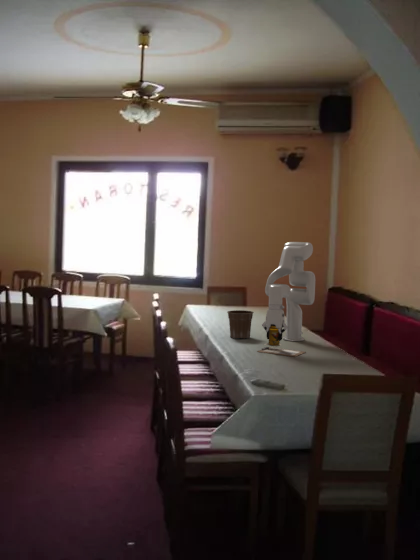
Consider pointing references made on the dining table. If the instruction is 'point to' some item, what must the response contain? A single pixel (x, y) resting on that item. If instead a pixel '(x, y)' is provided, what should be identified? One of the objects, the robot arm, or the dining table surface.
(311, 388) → the dining table surface
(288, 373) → the dining table surface
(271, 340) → the condiment
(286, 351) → the clipboard
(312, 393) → the dining table surface
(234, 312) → the plant pot
